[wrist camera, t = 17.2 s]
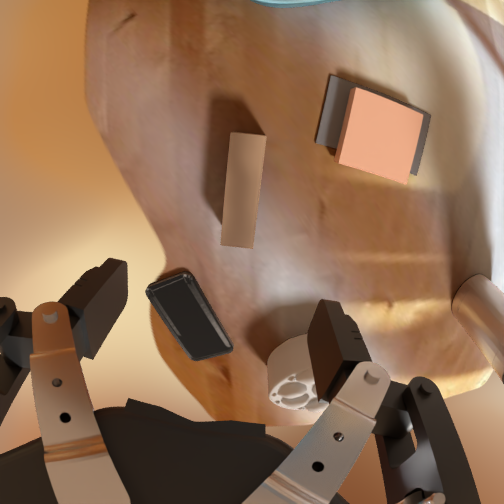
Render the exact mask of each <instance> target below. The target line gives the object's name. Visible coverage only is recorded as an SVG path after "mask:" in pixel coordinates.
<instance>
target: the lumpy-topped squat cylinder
mask: <svg viewBox="0 0 504 504" xmlns="http://www.w3.org/2000/svg"><path fill="white" fill-rule="evenodd" d="M307 334H308V333H307ZM307 334H303V335H300V336H296V337H293V338H291V339H288V340H287V341H285V342H284V343H282V344H281V345H279V346H278V347H277V348H276V349H275V350H274V351H273V352H272V353H271V354H270V356H269V358H268V361H267V370H268V396H269V399H270V400H271V401H272V402H273V403H274V404H276V405H278V406H281V407H283V408H287V409H294V410H308V411H311V412H321V411H323V410H325V409H326V408H327V407H328V405H329V403H318V398H317V392H316V387H315V381H314V376H313V371H312V365H311V360H310V355H309V350H308V344H307Z"/></svg>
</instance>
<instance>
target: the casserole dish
mask: <svg viewBox="0 0 504 504" xmlns="http://www.w3.org/2000/svg"><path fill="white" fill-rule="evenodd" d="M250 1H252V2H255V3H257V4H260V5H264V6H268V7H277V8H292V7H303V6H309V5H316V4H322V3H328V2H334V1H340V0H250Z"/></svg>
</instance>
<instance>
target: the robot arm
mask: <svg viewBox="0 0 504 504" xmlns="http://www.w3.org/2000/svg"><path fill="white" fill-rule="evenodd" d="M127 274H128V273H127V263H126V261H122V260H118V259H113V258H108V259H107V260H106V261H105V262H104V263H103V264H102V265H101V266H100V267H94V268H92V269H90V270H88V271H86V272H85V273H84V274H83V275H82V276H81V277H80V279H78V280H77V281H76V282H75V284H74V285H73V286H72V287H71V288H70V289H69V290H68V291H67V292H66V293H65V294H64V295H63V296H62V298H60V300H59V301H58V302H46V303H43V304H40V305H39V306H37V307H36V308H35V309H34V311H33V312H23V311H17V309H16V305H15V302H14V301H13V300H12V299H10V298H7V297H0V353H1V354H0V426H1V424H2V421H3V419H4V417H5V416H6V414H7V412H8V410H9V408H10V406H11V403H12V402H13V400H14V398H15V397H16V395H17V393H18V391H19V389H20V388H21V386H22V384H23V382H24V381H25V379H26V377H27V375H28V374H29V372H30V370H31V378H32V386H33V394H34V400H35V407H36V412H37V418H38V423H39V428H40V432H41V437H39V438H37V439H35V440H32V441H30V442H28V443H26V444H24V445H21V446H19V447H17V448H15V449H12V450H10V451H7V452H5V453H3V454H0V504H349V503H348V502H347V501H346V500H345V499H344V498H343V497H342V496H341V495H340V494H339V493H338V492H337V491H338V489H339V488H340V486H341V484H342V483H343V481H344V480H345V478H346V476H347V475H348V473H349V471H350V470H351V468H352V467H353V465H354V463H355V461H356V460H357V458H358V456H359V454H360V452H361V451H362V449H363V447H364V445H365V443H366V441H367V440H368V438H369V436H370V434H371V433H373V434H375V439H376V443H377V448H378V453H379V458H380V464H381V469H382V474H383V480H384V486H385V491H386V498H387V504H481V502H480V499H479V495H478V492H477V488H476V485H475V482H474V479H473V475H472V472H471V469H470V467H469V463H468V460H467V458H466V455H465V452H464V449H463V446H462V444H461V441H460V438H459V436H458V434H457V431H456V429H455V426H454V423H453V421H452V418H451V416H450V414H449V411H448V409H447V407H446V404H445V402H444V400H443V397H442V395H441V393H440V391H439V389H438V387H437V386H436V385H435V383H433V382H432V381H431V380H429V379H427V378H425V377H415V378H413V379H412V380H411V381H410V383H409V384H408V385H405V384H401V383H398V382H394V381H391V380H390V376H389V374H388V372H387V371H386V370H385V369H384V368H383V367H382V366H380V365H378V364H376V363H373V362H372V360H371V357H370V355H369V352H368V350H367V348H366V345H365V343H364V340H363V338H362V336H361V333H360V331H359V328H358V326H357V324H356V322H355V321H354V320H353V319H352V318H351V317H350V316H349V315H345V314H344V312H343V309H342V307H341V304H340V303H339V302H337V301H331V300H324V299H321V300H320V302H319V304H318V306H317V309H316V311H315V314H314V317H313V319H312V322H311V324H310V327H309V330H308V334H307V344H308V350H309V355H310V360H311V365H312V371H313V376H314V381H315V387H316V392H317V398H318V403H329V405H328V407H327V408H326V410H325V411H324V412H323V414H322V415H321V416H320V417H319V419H318V420H317V421H316V423H315V424H314V425H313V427H312V428H311V429H310V430H309V432H308V433H307V434H306V435H305V437H304V438H303V439H302V440H301V441H300V443H299V444H298V445H297V446H296V447H295V449H293V448H292V447H291V446H289V445H288V444H286V443H285V442H283V441H281V440H280V439H278V438H275V437H273V436H271V435H268V434H265V424H257V423H248V422H240V421H232V420H229V421H212V422H194V421H191V420H188V419H186V418H184V417H182V416H179V415H177V414H175V413H173V412H171V411H169V410H166V409H164V408H162V407H159V406H156V405H151V404H148V403H144V402H140V401H137V400H133V399H130V398H128V400H127V403H126V406H125V407H108V408H102V409H98V410H96V411H94V408H93V405H92V402H91V399H90V396H89V393H88V389H87V386H86V383H85V380H84V376H83V373H82V368H81V365H80V361H81V359H82V357H83V356H84V357H86V358H89V359H92V360H93V359H94V357H95V355H96V354H97V352H98V350H99V348H100V347H101V345H102V343H103V342H104V340H105V338H106V337H107V335H108V333H109V332H110V330H111V328H112V327H113V325H114V323H115V322H116V320H117V319H118V317H119V316H120V314H121V312H122V311H123V309H124V307H125V305H126V302H127V297H128V275H127ZM452 313H453V315H454V316H455V318H456V319H457V320H458V321H459V323H460V324H461V325H462V327H463V328H464V329H465V331H466V332H467V333H468V334H469V336H470V337H471V338H472V340H473V341H474V342H475V344H476V345H477V346H478V348H479V349H480V350H481V352H482V353H483V355H484V356H485V357H486V359H487V360H488V362H489V363H490V364H491V366H492V367H493V369H494V370H495V372H496V373H497V375H498V376H499V378H500V379H501V381H502V382H503V384H504V293H503V292H502V291H501V290H500V289H499V288H498V287H497V286H495V285H494V284H493V283H492V282H491V281H490V280H489V279H488V278H486V277H485V276H484V275H475V276H473V277H471V278H469V279H468V280H467V281H465V282H464V284H463V285H462V286H461V287H460V288H459V290H458V291H457V293H456V295H455V297H454V299H453V303H452ZM412 429H413V430H414V433H415V436H416V439H417V449H416V450H415V447H414V444H413V440H412V437H411V433H410V431H411V430H412Z"/></svg>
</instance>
